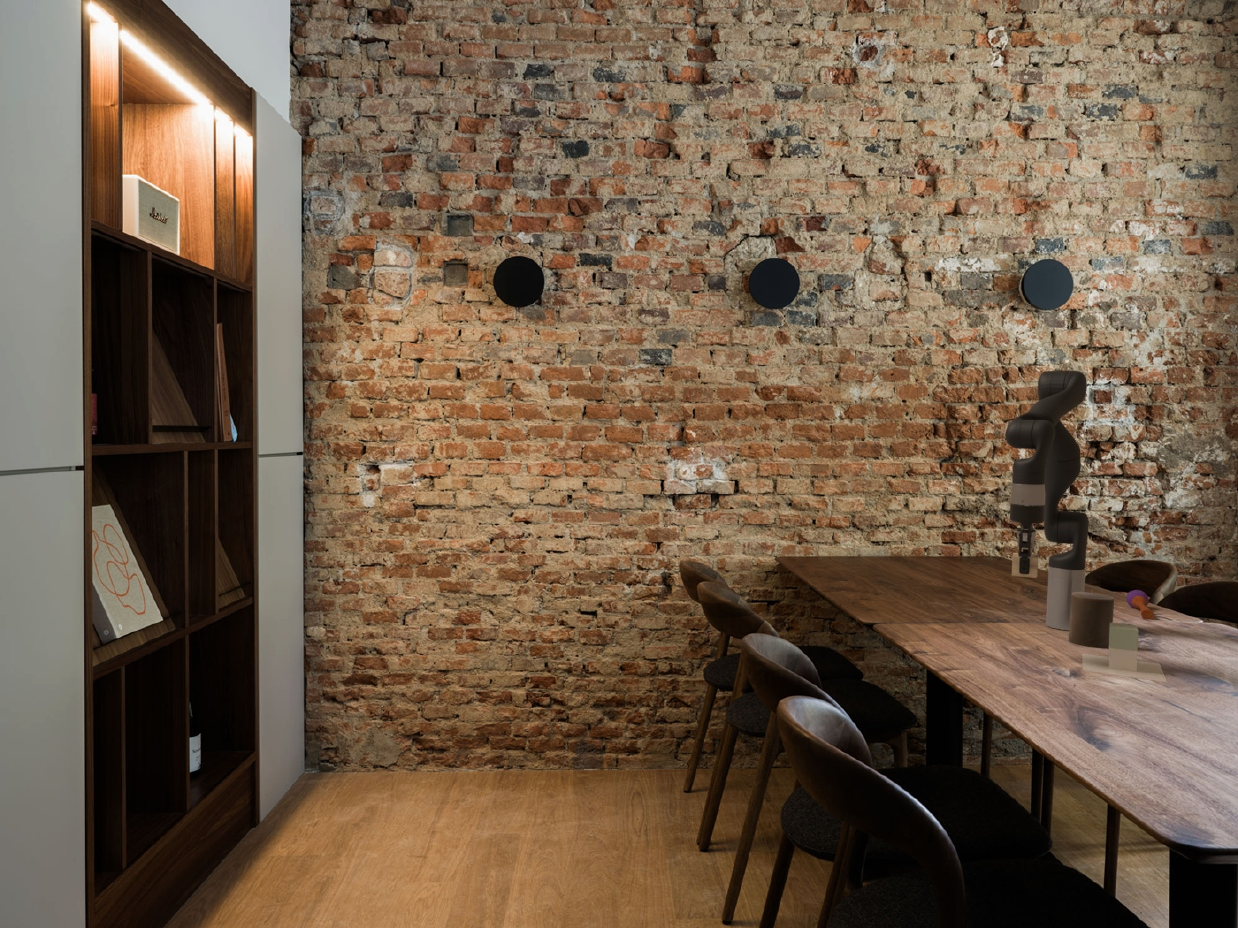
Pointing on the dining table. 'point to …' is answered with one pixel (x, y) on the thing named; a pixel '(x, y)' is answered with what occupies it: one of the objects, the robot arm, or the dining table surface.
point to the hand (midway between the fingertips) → (1024, 571)
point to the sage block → (1123, 636)
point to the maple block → (1033, 566)
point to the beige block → (1122, 659)
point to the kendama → (1140, 603)
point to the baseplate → (1143, 670)
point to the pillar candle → (1090, 619)
